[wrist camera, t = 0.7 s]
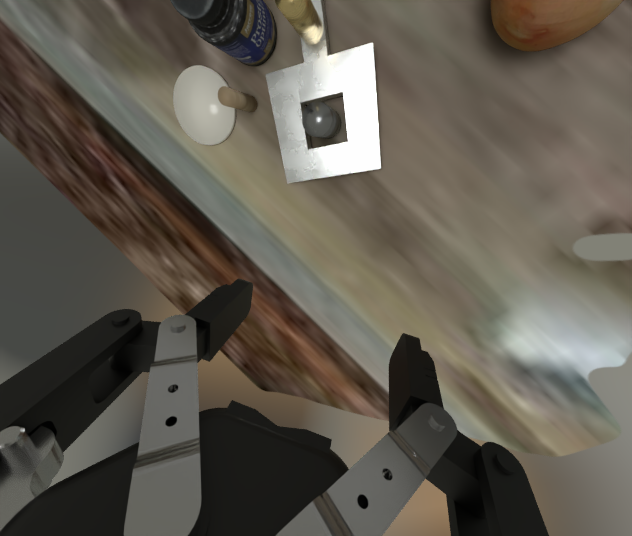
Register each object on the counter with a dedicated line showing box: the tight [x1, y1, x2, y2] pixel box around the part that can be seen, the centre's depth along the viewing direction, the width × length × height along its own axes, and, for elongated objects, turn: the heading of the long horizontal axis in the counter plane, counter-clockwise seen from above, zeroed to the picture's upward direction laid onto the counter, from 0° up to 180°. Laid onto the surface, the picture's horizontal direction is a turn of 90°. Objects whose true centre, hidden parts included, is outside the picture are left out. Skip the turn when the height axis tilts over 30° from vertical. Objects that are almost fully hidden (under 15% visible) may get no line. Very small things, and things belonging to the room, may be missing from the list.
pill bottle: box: [171, 0, 276, 66], centre depth 25 cm, size 6×6×11 cm
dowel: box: [218, 86, 257, 112], centre depth 30 cm, size 2×2×6 cm
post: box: [302, 101, 341, 138], centre depth 29 cm, size 3×3×6 cm
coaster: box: [173, 66, 236, 145], centre depth 34 cm, size 9×9×1 cm
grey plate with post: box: [266, 0, 381, 183], centre depth 26 cm, size 18×12×9 cm
